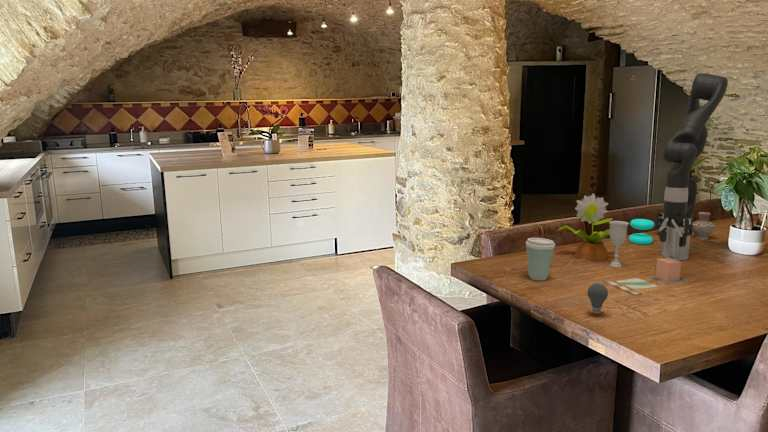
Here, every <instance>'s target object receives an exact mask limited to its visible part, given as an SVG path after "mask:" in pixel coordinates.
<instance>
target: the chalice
mask: <svg viewBox="0 0 768 432" xmlns="http://www.w3.org/2000/svg"><path fill="white" fill-rule="evenodd" d="M608 224H609V230H610V232H609V235H608V236H609V237H610V238H609V239H610V240H611V243H612V245H613V246H614V247H615V248H614V253H615V254H614V255H613V256H614V260H613V261H611V262H610V264H609V266H608V267H613V268H622V263H621V262H620V261H619V260H618V258H619V257H620V255H619V253H620V252H619V248H620V247H621V246H622V245H623V243H624V242H625V240H626V238H627V236H628V226H629V225H630V222H628V221H624V220H611V221H608Z"/></svg>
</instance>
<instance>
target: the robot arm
mask: <svg viewBox="0 0 768 432" xmlns="http://www.w3.org/2000/svg"><path fill="white" fill-rule="evenodd" d="M692 81H693V82H692V84H691V89H690V95H689V99H688V104H687V108H686V115H685V117H684V119H683V121H682V123H681V125H680V127H679V129H678V131H677V132H676V133H675V134H674V135H673V137H671V138H670V139H669V140H668V141H667V143H666V144H665V145H664V147H663V150H662V156H663V157H662V158H663V160H665V162H668V163H672V165H671V168H670V169H669V170H668V171H667V173H666V180H665V185H664V195H663V196H664V197H663V199H664V200H663V209H662V210H663V212H662V211H661V212H657V213H656V219H655V222H656V224H654V228H655V229H657V230H658V229H659V231H660V232H659V231H658V232H659V242H661V243H662V245H661V256H662V257H663V258H672V259H675V260H678V261H686V260H688V259H689V251H690V244H691V243H690V242H691V236H693V231H692V228H693V222H694V220H693V213H694V211H695V207H696V201H697V200H696V199H697V193H698V183H697V180H696V179H695V178H694V177H691V176H690V175H691V171H692V169H693V165H694V163H695V161H696V160H697V159H698V158H699V157H700V155H702V153H703V151H704V149H705V146H706V143H707V139H708V130H707V126H706V124H707V122H708V121H709V119H710V118H711V116H712V115H713V113H714V112H715V111H716V109H717V108H718V106H719V104H720V103H721V101H722V100H723V98H724V96H725V94H726V91H727V88H728V83H729V81H728V78H727V77H725V76H722V75H717V74H711V73H703V72H698V73H697V74H696V75H695V76H694V79H693V80H692ZM700 100H701V101H703V100H704V101H707V102H706V103H705V104H703V105H701V106H700ZM664 212H665V213H664ZM664 220H665V221H664ZM659 223H660V225H659Z"/></svg>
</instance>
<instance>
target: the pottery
mask: <svg viewBox="0 0 768 432" xmlns="http://www.w3.org/2000/svg"><path fill="white" fill-rule="evenodd" d="M663 212H664V211H663ZM664 213H665V212H664ZM697 213H698V220H696V221H693V228H692V233H693V234H694V239H697V240H703V241H705V240H709V238H710V237H709V236H711V235H712V234H713V232H714V231H715V228H716V225H715V224H714V223H713V222H711V221H710V218H711V217H710V216H711V213H710V212H706V211H705V212H704V211H702V212H701V211H700V212H697ZM664 221H665V220H664ZM654 225H656V221H655V222H654ZM659 225H660V223H659ZM657 230H658V232H659V233H660V231H659V229H657Z"/></svg>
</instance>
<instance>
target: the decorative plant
mask: <svg viewBox="0 0 768 432" xmlns="http://www.w3.org/2000/svg"><path fill="white" fill-rule="evenodd" d="M576 203H577V204H576V207H574V209H575V210H576V212H577V214H576V218H579V217H580V219H581V220H580V221H581V222H582V223H583V222H588V224H589V225H591V234H590V235H588V234H587V233H586V232H584V231H583V230H582V229H581V228H580V229H578V230H575V229H574V228H573V227H570V226H568V225H566V224H565V225H564V226H559V228H558V230H557V232H559V231H562V230H565V231H566V230H567V231H569V232H571V233H572V234H574V235H576V236H577V237H579V238H581V239H582V240H581V242H580V244H578V246H577V247H576V251H575V256H576V257H577V258H579V259H584V260H586V261H587V260H588V261H601V260H602V261H603V260H607V259H608V258H609V253H608V249H607V247H606V246H605V244H604V241H603V239H605V238H607V237H608V236H610V235H609V232H610V229H606V230H604V231H594V226H596V225H597V226H598V225H601V224H605V223H609V221H613V218H612V217H611V218H605V217H604V215H605V214H606V213H608V210H607V206H608V205H609V203H608V202H605V200H604V197H599V196H598V197H596V194H595V193H592V194H590V195H584V196H583V198H582V199H581V200H578V199H577V200H576ZM604 218H605V219H604ZM601 219H602V220H601Z"/></svg>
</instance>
